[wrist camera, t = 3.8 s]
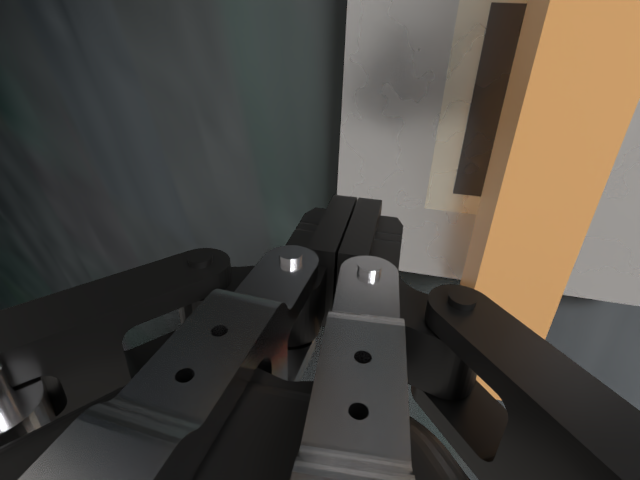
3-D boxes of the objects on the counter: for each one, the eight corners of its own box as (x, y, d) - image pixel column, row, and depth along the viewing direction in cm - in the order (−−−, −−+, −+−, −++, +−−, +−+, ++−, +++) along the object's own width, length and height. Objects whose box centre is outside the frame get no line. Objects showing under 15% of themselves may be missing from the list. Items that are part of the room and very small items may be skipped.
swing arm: (706, -821, 7) (848, -1249, 5) (957, -892, 7) (1271, -1428, 4) (439, 342, 21) (441, 388, 19) (515, 355, 21) (527, 405, 18)
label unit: (363, -146, 17) (355, -167, 15) (844, -161, 14) (913, -189, 12) (339, 243, 26) (332, 263, 24) (629, 284, 23) (648, 311, 21)
